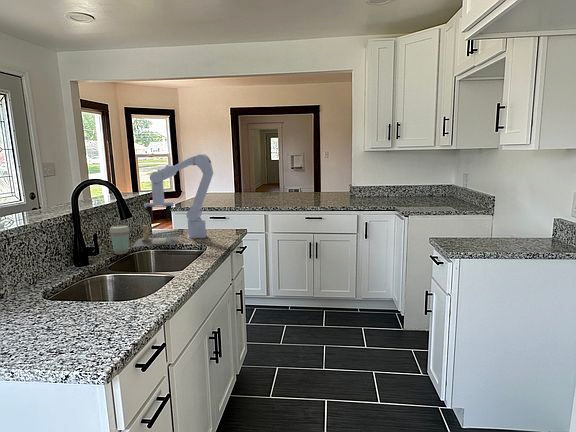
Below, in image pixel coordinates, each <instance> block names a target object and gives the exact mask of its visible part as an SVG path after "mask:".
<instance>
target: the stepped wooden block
mask: <svg viewBox="0 0 576 432" xmlns="http://www.w3.org/2000/svg"><path fill="white" fill-rule="evenodd" d="M149 230H150V228H149V225H148V224H147V225H146V224H145V225H142V237H143V238H141V239H142V242H150V241H151V238H152V237H150V232H149Z"/></svg>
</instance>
